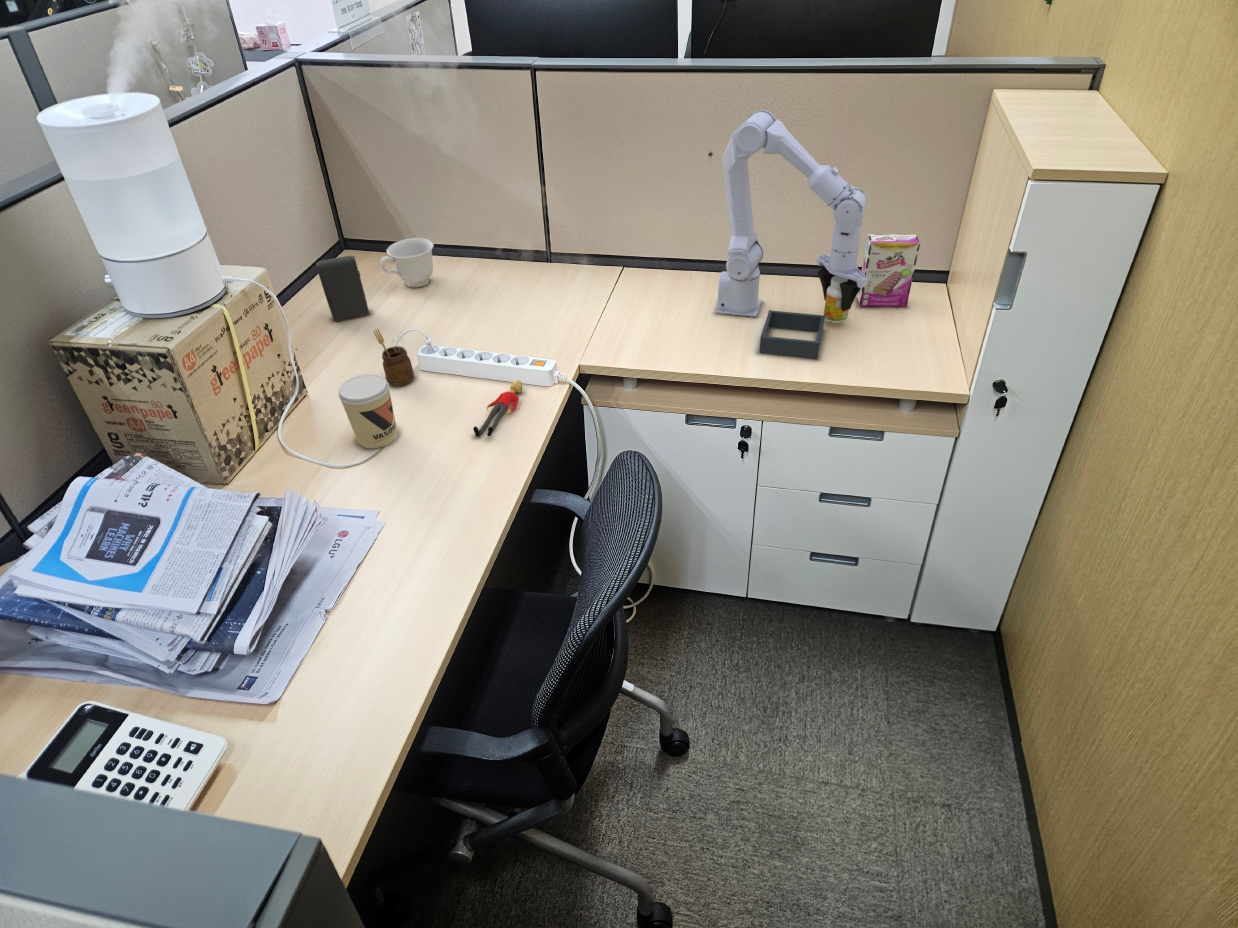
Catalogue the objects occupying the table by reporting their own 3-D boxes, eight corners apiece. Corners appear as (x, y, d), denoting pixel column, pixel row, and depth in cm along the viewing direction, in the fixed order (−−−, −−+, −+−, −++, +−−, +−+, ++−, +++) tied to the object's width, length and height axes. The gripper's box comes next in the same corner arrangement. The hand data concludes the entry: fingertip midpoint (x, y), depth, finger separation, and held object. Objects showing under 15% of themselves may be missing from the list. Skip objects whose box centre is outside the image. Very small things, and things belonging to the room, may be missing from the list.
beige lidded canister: (377, 456, 152) (361, 405, 144) (343, 442, 156) (326, 391, 148) (411, 431, 158) (398, 380, 150) (378, 418, 162) (363, 368, 154)
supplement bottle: (820, 313, 184) (825, 274, 178) (843, 311, 184) (848, 272, 178) (827, 324, 180) (832, 285, 174) (850, 322, 180) (856, 283, 174)
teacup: (377, 287, 210) (367, 251, 204) (425, 269, 217) (417, 234, 211) (400, 301, 203) (391, 265, 196) (449, 282, 210) (442, 246, 204)
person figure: (471, 418, 153) (509, 369, 166) (468, 433, 155) (507, 384, 168) (494, 429, 152) (532, 379, 165) (492, 443, 155) (528, 393, 168)
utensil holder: (405, 389, 170) (392, 340, 163) (380, 384, 172) (367, 336, 164) (420, 374, 174) (408, 326, 167) (395, 370, 176) (383, 322, 169)
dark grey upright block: (370, 309, 200) (354, 253, 191) (371, 316, 197) (355, 259, 188) (332, 316, 198) (315, 259, 189) (333, 323, 195) (316, 266, 186)
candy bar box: (859, 308, 188) (869, 242, 178) (856, 298, 192) (866, 233, 182) (907, 308, 187) (921, 242, 176) (904, 298, 191) (916, 233, 180)
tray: (759, 353, 174) (760, 337, 172) (767, 325, 184) (769, 310, 181) (817, 359, 171) (819, 343, 169) (823, 331, 180) (825, 315, 178)
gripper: (882, 255, 168) (873, 312, 176) (837, 232, 178) (830, 288, 186) (856, 263, 165) (848, 321, 174) (812, 240, 176) (806, 295, 184)
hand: (837, 304), depth 180 cm, fingers closed on supplement bottle, 5 cm apart
